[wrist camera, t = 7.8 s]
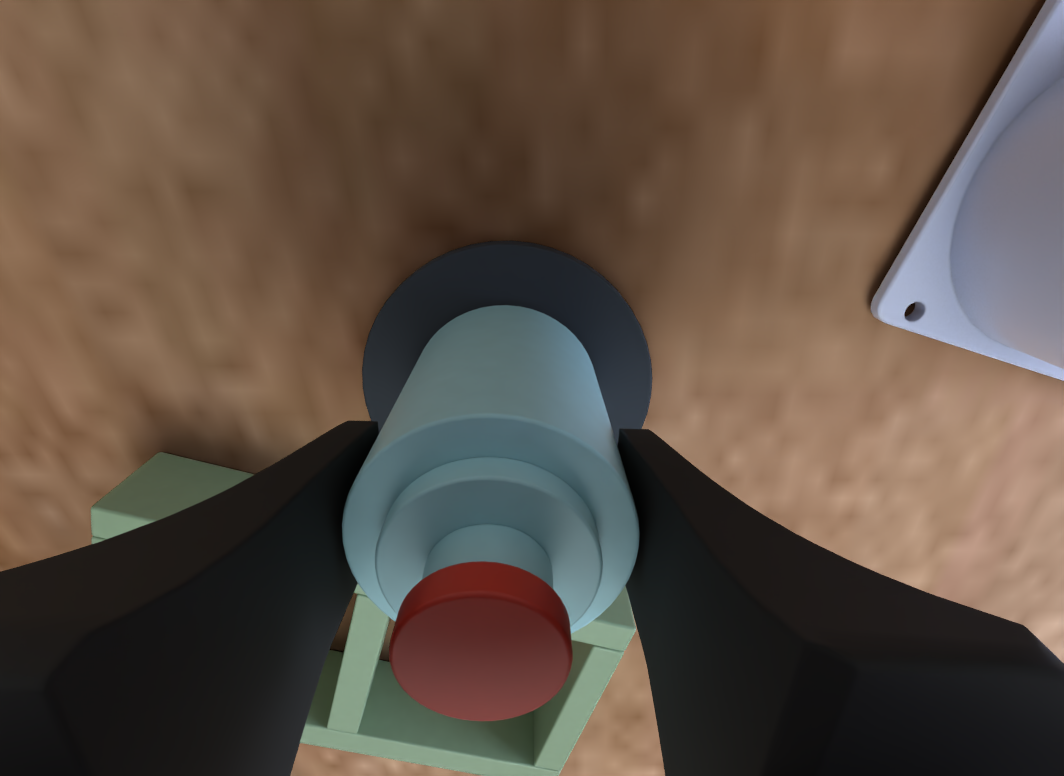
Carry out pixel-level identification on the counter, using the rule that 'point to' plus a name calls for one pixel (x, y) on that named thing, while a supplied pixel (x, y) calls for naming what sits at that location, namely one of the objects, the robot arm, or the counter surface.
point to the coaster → (513, 281)
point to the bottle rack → (369, 683)
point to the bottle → (492, 515)
